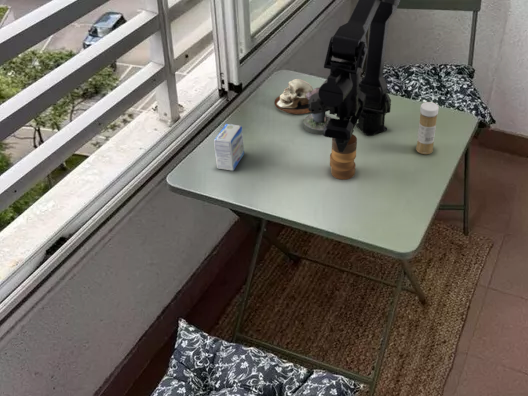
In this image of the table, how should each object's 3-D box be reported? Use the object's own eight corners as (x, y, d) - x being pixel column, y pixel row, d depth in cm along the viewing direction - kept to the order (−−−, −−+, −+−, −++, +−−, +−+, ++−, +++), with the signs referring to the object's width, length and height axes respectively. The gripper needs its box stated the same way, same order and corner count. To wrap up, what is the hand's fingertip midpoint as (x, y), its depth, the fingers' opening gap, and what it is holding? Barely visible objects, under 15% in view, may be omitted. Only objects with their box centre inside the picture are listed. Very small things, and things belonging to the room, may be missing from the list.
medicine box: (233, 171, 168) (231, 142, 163) (216, 168, 168) (213, 139, 163) (244, 154, 174) (242, 125, 169) (227, 151, 175) (225, 122, 169)
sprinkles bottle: (432, 145, 182) (437, 101, 173) (433, 155, 178) (439, 110, 170) (414, 145, 181) (419, 100, 173) (416, 155, 178) (421, 110, 170)
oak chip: (347, 146, 170) (347, 138, 169) (360, 158, 166) (361, 150, 165) (326, 153, 167) (327, 144, 166) (339, 165, 163) (340, 156, 162)
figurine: (321, 137, 182) (321, 98, 175) (296, 126, 186) (296, 87, 179) (340, 125, 188) (341, 86, 180) (316, 114, 191) (317, 76, 184)
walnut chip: (348, 138, 169) (348, 129, 167) (361, 150, 165) (361, 141, 163) (327, 144, 166) (327, 136, 164) (340, 156, 162) (340, 148, 160)
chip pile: (346, 162, 173) (347, 146, 170) (359, 175, 169) (360, 158, 166) (325, 170, 170) (325, 153, 167) (338, 182, 166) (338, 165, 163)
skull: (282, 117, 187) (273, 80, 188) (276, 124, 197) (267, 90, 197) (324, 108, 191) (315, 73, 191) (315, 116, 201) (306, 83, 201)
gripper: (322, 64, 164) (321, 120, 173) (300, 101, 149) (301, 160, 158) (367, 70, 162) (364, 126, 172) (350, 108, 148) (348, 167, 157)
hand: (344, 144), depth 165 cm, fingers open, 6 cm apart
